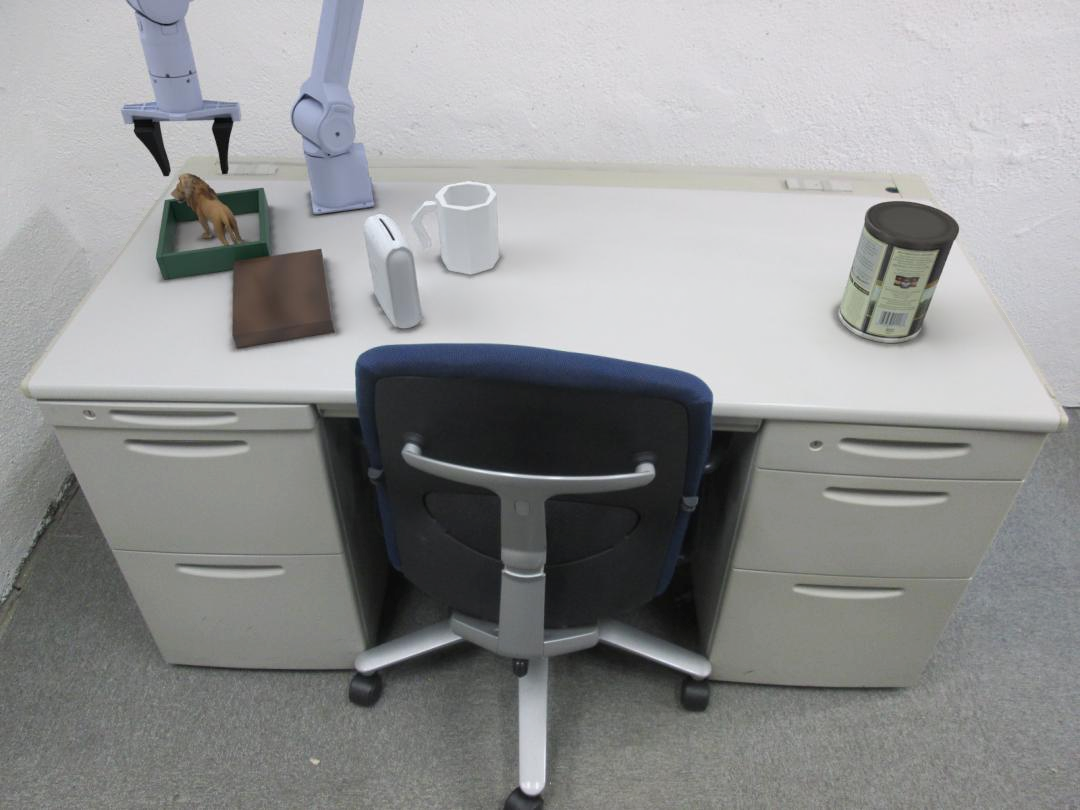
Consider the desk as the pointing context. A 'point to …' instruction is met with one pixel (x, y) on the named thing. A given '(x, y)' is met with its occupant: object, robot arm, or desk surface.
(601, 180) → the desk surface
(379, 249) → the photo printer
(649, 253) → the desk surface
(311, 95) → the robot arm
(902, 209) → the coffee can
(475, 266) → the mug
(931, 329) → the desk surface
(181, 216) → the storage box
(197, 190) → the lion figurine
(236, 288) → the stand
